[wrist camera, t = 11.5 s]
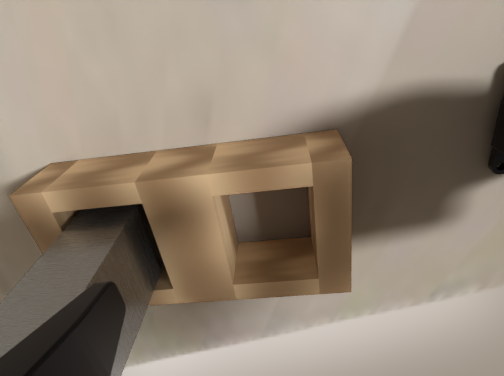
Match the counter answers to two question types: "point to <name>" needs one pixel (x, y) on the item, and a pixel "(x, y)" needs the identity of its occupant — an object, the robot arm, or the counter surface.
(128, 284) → the grey square pillar
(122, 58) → the counter surface
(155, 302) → the board with square holes
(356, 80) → the counter surface
